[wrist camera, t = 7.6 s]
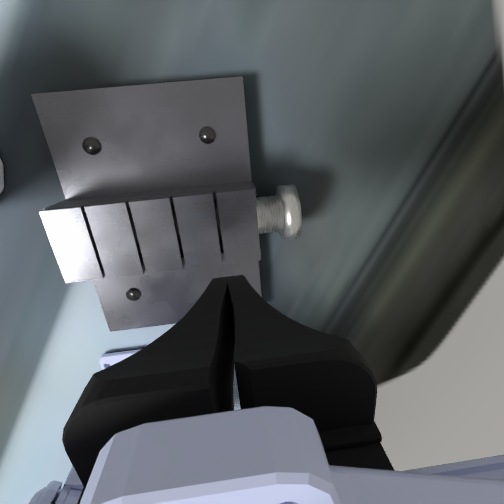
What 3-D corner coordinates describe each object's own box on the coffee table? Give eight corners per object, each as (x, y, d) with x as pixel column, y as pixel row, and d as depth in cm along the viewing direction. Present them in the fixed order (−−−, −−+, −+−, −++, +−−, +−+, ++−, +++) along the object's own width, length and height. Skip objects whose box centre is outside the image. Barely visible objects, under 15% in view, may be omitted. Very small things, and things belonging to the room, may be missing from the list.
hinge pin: (288, 180, 21) (301, 189, 17) (290, 229, 22) (302, 246, 19) (84, 201, 20) (56, 215, 16) (99, 250, 21) (76, 272, 18)
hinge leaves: (241, 79, 18) (247, 64, 14) (261, 303, 25) (268, 338, 20) (42, 96, 18) (-12, 85, 14) (115, 322, 24) (93, 361, 20)
